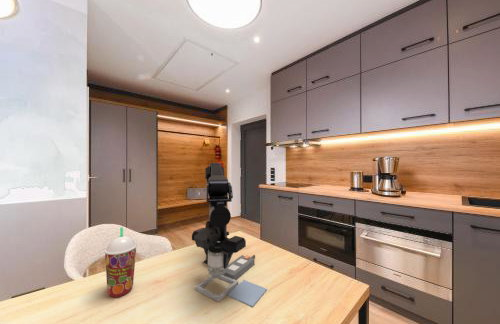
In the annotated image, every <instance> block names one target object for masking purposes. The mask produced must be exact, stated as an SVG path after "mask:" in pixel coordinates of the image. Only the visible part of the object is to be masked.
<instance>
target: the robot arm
mask: <svg viewBox="0 0 500 324" xmlns="http://www.w3.org/2000/svg"><path fill="white" fill-rule="evenodd" d="M204 170H205V172H204V174H205V175H204V180H206V203H209V204H208V206H209V207H208V208H209V209H208V211H209V213H208V220H207V221H206V222H205V226H204V227H201V228H198V229H196V230H193V232H192V234H191V240H192V241H194V242H195V246H196V247H197V248H201V249H203V250H204V253H205V256H206V259H205V260H203V263H205V264H207V265H208V250H209V248H210V247H212V246H215V245H221V246H224V247H225V248H224V249H222V250H221V251H222V252H223V265H224V269H225V268H227V266H228V265H229V264H230V261H231V259H232V256H233V255H234V254H236V253H238V252H241V250H243V249H244V248H246V246H247V241H246V239H245V238H244V237H242V236H238V235H234V236H231V237H228V236H229V235H230V232H229V231H227V228H228V227H227V226H228V224H229V223H230V221H231V219H232V214H231V212H230V210H229V207H228V203H229V202H232V201H233V200H232V199H233V198H234V195H233V194H234V193H233V186H232V184H231V182H229V179H228V178H227V177H226V176H225V168H224V167H223V164H222V163H221V162H211V163H209V166H207V167H205V169H204Z"/></svg>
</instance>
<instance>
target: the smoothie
mask: <svg viewBox="0 0 500 324" xmlns="http://www.w3.org/2000/svg"><path fill="white" fill-rule="evenodd" d="M119 233H120V234H119V235H118V236H117V237H114V238H113V239H112V240H111V241H110V242H109V243H108V245H107V247H106V249H105V250H104V253H105V254H104V257H105V258H104V259H105V273H106V289H107V290H106V292H107V293H108V295H109V296H110V297H112V298H119V297H122V296H124V295H126V294H128V293H129V292H130V291H131V290H132V287H133V285H134V279H135V266H136V265H135V264H136V255H137V253H136V252H137V246H138V245H137V243H136V242H135V240H134V239H133V238H132V237H131V236H128V235H124V227H122V226H121V227H120V232H119Z"/></svg>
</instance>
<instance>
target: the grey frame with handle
mask: <svg viewBox="0 0 500 324" xmlns="http://www.w3.org/2000/svg"><path fill="white" fill-rule="evenodd" d="M255 258H256V255H255V254H253V255H248V254H246V255H243V254H241V255H240V256H239V257H237V258H235V260H232V262H229V263H228V266H227V269H226V272H225V274H223V275H221V276H211V275H209V276H208V277H207V278H205V279H204V280H202V281H201V282H199V283H198V284H197V285H195V286H194V291H196V292H198V293H200V294H202V295H204V296H205V297H208V298H210V299H212V300H214V301H216V302H217V303H219V302H221V300H223V299H224V298H225V297H226V296H228V294H229V293H230V292H231V291H232V290H233V289H234V288H235V287H236V286H237V285H239V280H238V279H239V278H240V277H242V276H243V275H244V274H245V273H247V272H248V271H249V270H250V269H251V268H252V267H253V266H255ZM216 278H217V279H220V280H222V281H224V282H227V283H230V285H228V287H227V288H225V289H224V290H223V291H221V292H220V293H219V294H216V293H214V292H212V291H210V290H208V289H206V288H204V287H205V286H206V285H208V284H209V283H210V282H212V281H213V280H215V279H216Z"/></svg>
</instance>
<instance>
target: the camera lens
mask: <svg viewBox="0 0 500 324" xmlns="http://www.w3.org/2000/svg"><path fill="white" fill-rule="evenodd" d="M224 248H225V247H224V246H221V245H215V246H212V247H210V248H209V250H208V264H207V271H208V274H209V276H221V275H223V274H225V272H226V269H227V268H225V269H224V265H223V252H222V251H221V250H222V249H224Z"/></svg>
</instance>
